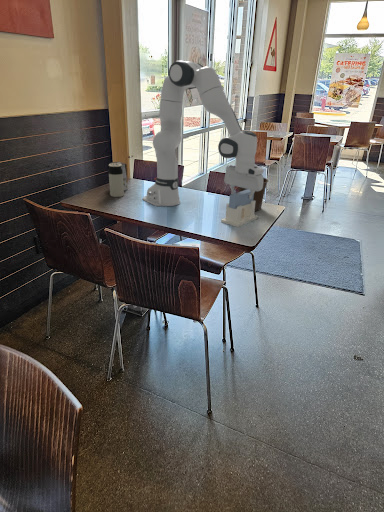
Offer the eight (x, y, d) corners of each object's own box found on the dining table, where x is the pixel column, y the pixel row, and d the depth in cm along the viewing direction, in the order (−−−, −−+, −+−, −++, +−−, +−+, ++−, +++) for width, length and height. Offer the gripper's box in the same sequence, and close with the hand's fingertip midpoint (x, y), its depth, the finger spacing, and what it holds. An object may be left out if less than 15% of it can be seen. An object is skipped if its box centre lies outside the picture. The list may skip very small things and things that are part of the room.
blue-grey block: (228, 207, 165) (229, 195, 163) (247, 200, 176) (248, 189, 174) (234, 209, 163) (235, 196, 161) (252, 202, 174) (254, 190, 172)
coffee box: (128, 189, 216) (127, 163, 209) (119, 191, 212) (118, 165, 205) (120, 186, 222) (118, 161, 215) (111, 188, 218) (109, 162, 211)
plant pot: (241, 213, 182) (244, 183, 175) (230, 204, 196) (232, 176, 189) (269, 212, 186) (273, 182, 179) (256, 203, 200) (260, 175, 193)
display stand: (220, 221, 170) (222, 203, 166) (241, 213, 182) (243, 196, 178) (237, 227, 164) (239, 208, 160) (257, 218, 177) (259, 200, 173)
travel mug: (116, 198, 200) (114, 166, 192) (107, 195, 204) (105, 164, 196) (126, 195, 205) (125, 164, 197) (117, 192, 210) (115, 162, 202)
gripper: (222, 164, 166) (220, 192, 172) (259, 172, 154) (255, 202, 160) (230, 163, 170) (227, 190, 176) (266, 170, 158) (262, 199, 164)
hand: (241, 196), depth 168 cm, fingers open, 8 cm apart
